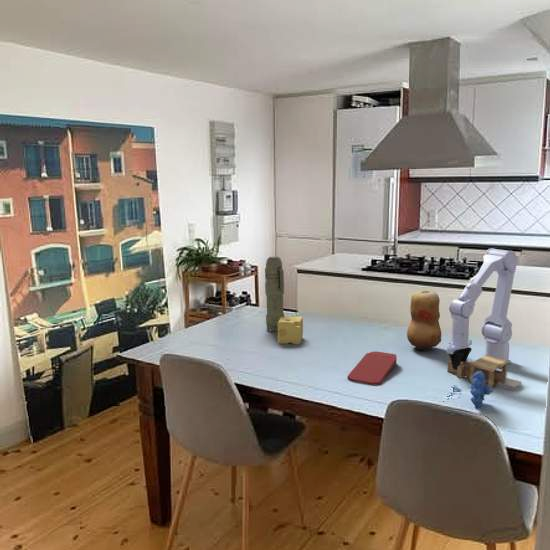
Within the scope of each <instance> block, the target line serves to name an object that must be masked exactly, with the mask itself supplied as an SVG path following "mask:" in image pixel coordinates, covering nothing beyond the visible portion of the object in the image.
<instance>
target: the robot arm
mask: <svg viewBox="0 0 550 550" xmlns="http://www.w3.org/2000/svg"><path fill="white" fill-rule="evenodd" d="M518 258H519V257H518V256H517V255H516V252H515V251H513V250H507V249H506V250H505V249H497V248H491V247H489V248H488V249H487V250H486V252H485V254H484V255H483V258H482V260H483V263H482V265H481V266H480V269H479V270H478V271H477V273H476V275H475V276H474V279H473V281H471V282H468V283H467V284H466V285H465V287H464V288H463V290H462V291H461V293H460V294H459V295H458V298H456V299H453V300H452V301H451V303H450V304H449V307H448V309H449V313H450V317H451V321H452V322H451V323H452V328H451V341H449V342H448V344H449V346H448V347H447V348H446V354H448V356H449V358H450V360H451V362H452V367H453V369H455V370H457V367H458V366H459V365H460V363H461V361H462V362H467V361H468V358H469V356H470V353H471V352H472V347H470V346H472V342H473V340H472V339H469V332H470V316H472V314H473V312H474V310H475V308H474V307H475V306H476V302H477V300H479V299H478V298H479V297H480V296H481V294H482V292H483V286H484V284H485V283H486V282H487V280H488V279H489V278H490V277H491V275H492V274H493V273H494V272H496V273H497V274H498V275H497V281H496V286H495V291H494V292H495V293H494V297H493V303H492V307H491V308H492V309H491V314H490V315H488V316H487V317H485V318H484V323H483V325H482V326H481V335H482V336H483V337H484V340H485V352H484V354H485V355H488V356H492V357H497V358H501V359H506V360H508V363H507V365H508V364H510V363H511V362H512V360H510V344H509V341H511V339H512V335H513V331H512V329H513V327H512V326H513V324H512V322H511V320H509V319H508V317H507V315H508V312H509V311H508V310H509V304H510V299H511V294H512V289H513V283H514V278H515V273H516V270H517V269H516V268H517V264H518ZM485 355H484V356H485ZM499 369H502V366H501V367H500V368H499Z"/></svg>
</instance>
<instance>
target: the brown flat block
mask: <svg viewBox="0 0 550 550" xmlns="http://www.w3.org/2000/svg"><path fill="white" fill-rule="evenodd" d="M522 383H523V382H522V381H520V380H515V379H513V378H510V377H509V378H508V377H506V378H505V377H504V378H502V379H501V380H499V381H497V383H496V385H495V386H497V388H500V387H501V388H500V389H503V388H504V389H503V390H507V389H508V391H512V392H515V391H517V390H519V389H520V388H521V387H522Z"/></svg>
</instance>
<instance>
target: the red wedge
mask: <svg viewBox="0 0 550 550" xmlns="http://www.w3.org/2000/svg"><path fill="white" fill-rule="evenodd" d="M396 363H397V354H395V353H391V352H390V353H389V352H382V351H377V350H376V351H369V352H367V353H365V354H364V356H363V357H362V358H361V359H360V360H359V362H358V363H357V364H356V366H355V367H354V368H353V369H352V370H351V371H350V373H348V375H347V380H349V381H351V382H354V383H359V384H364V385H370V386H380V385H382V383H383V381H384V380H385V379H386V378H387V376H388V375H389V373H390V372H391V370H392V368H393V367H394V366H395V364H396Z"/></svg>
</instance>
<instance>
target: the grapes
mask: <svg viewBox="0 0 550 550" xmlns="http://www.w3.org/2000/svg"><path fill="white" fill-rule="evenodd" d="M473 377H474V378H475V379H474V380H472V381H471V383H470V384H472V385H471V386H470V387H469V388H470V391H469V392H470V394H471V395H472V397H470V401H471V403H472V404H473V405H474V407H476V408H480V407H481V406H482V405H483V404H484V400H485V396H487V395H488V396H489V395H491V394H492V393H493V392H494V390H493V388H490V386H488V384H487V385H486V383H487V382H486V381H485V379H484V377H485V375H484V373H483V372H482V371H478V372H476V373H474V374H473Z"/></svg>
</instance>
